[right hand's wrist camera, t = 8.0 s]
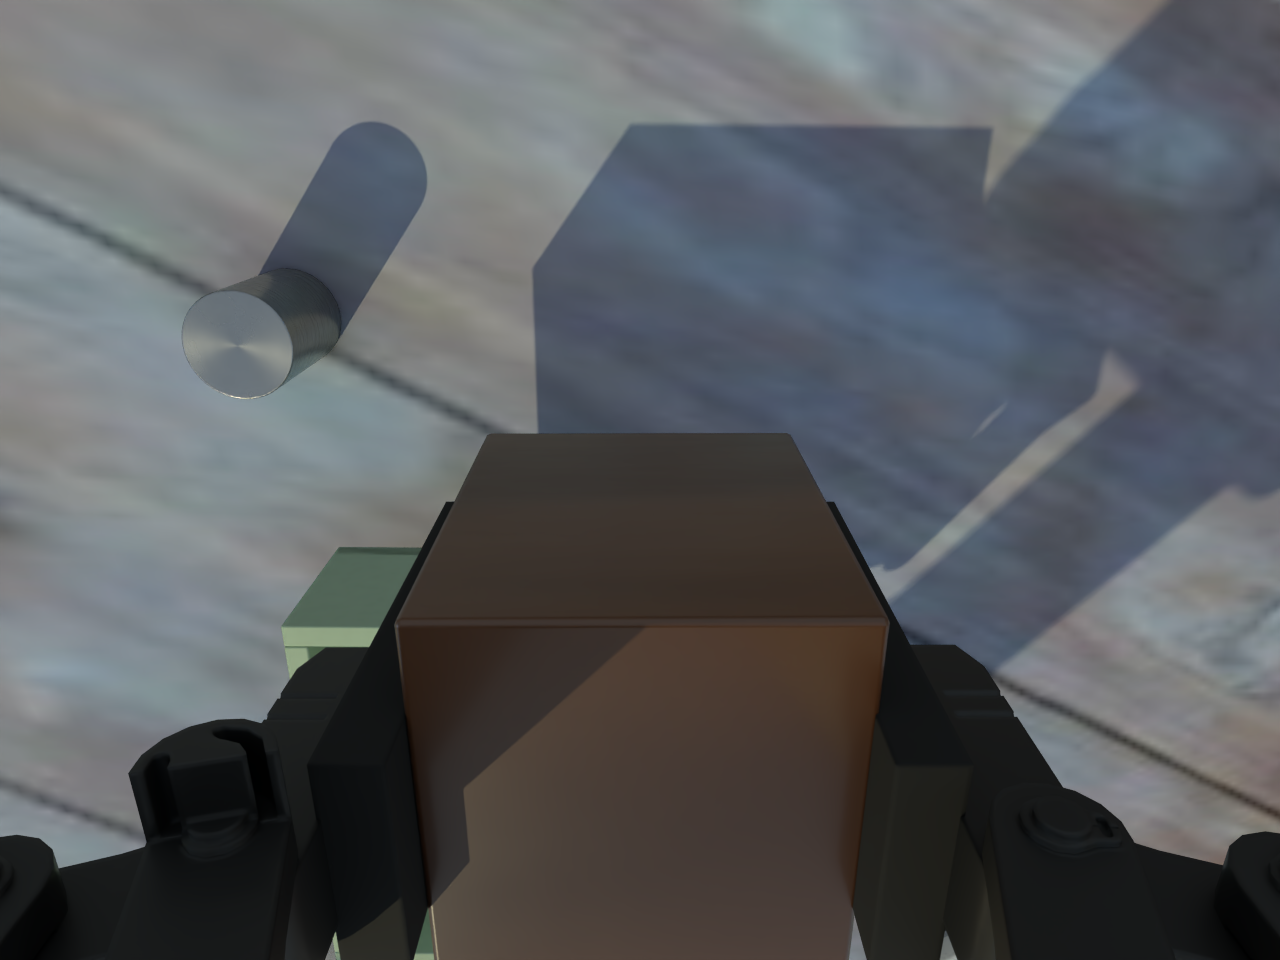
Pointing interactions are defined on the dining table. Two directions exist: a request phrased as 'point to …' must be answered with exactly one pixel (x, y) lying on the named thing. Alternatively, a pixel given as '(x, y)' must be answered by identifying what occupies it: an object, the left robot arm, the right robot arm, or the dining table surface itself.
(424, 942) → the tray
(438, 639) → the walnut block
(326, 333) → the grey metal peg
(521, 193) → the dining table surface
